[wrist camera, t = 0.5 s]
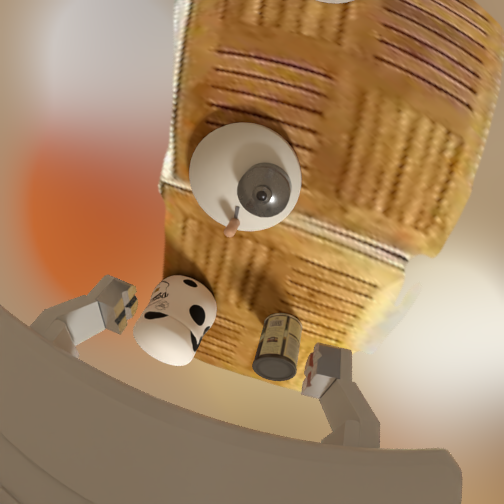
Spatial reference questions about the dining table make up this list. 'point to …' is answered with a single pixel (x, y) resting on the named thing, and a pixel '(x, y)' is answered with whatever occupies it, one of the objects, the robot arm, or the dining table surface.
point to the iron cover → (264, 190)
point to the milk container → (175, 320)
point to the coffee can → (278, 347)
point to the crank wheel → (239, 172)
